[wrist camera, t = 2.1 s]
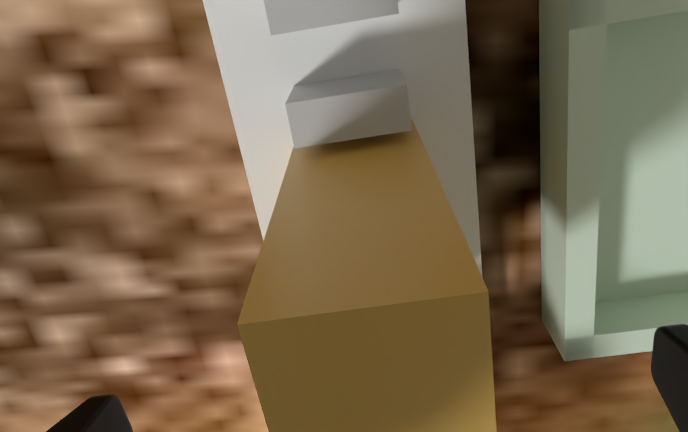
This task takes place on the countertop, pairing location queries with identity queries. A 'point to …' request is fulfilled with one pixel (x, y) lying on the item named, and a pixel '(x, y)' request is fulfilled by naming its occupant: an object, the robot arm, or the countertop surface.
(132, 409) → the countertop surface
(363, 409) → the block
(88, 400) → the robot arm
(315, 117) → the block
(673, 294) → the tray
